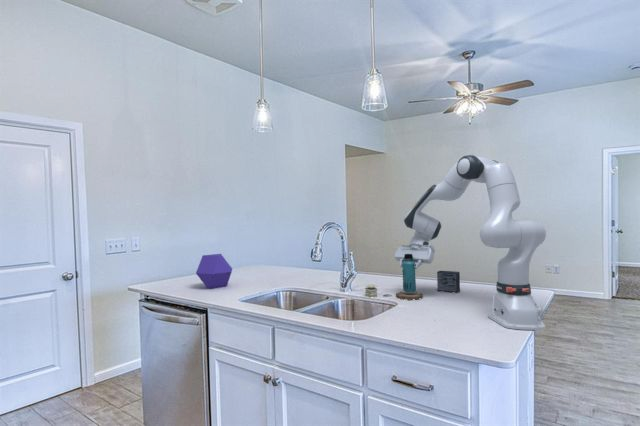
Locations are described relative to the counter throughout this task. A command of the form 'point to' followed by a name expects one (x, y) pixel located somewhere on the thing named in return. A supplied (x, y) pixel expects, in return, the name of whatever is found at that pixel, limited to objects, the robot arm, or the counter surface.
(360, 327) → the counter surface
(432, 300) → the counter surface
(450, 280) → the small box
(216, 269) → the purple faceted block
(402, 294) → the gear plate
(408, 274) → the beverage bottle
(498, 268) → the robot arm
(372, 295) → the stacked layers on plate
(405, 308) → the counter surface
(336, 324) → the counter surface
